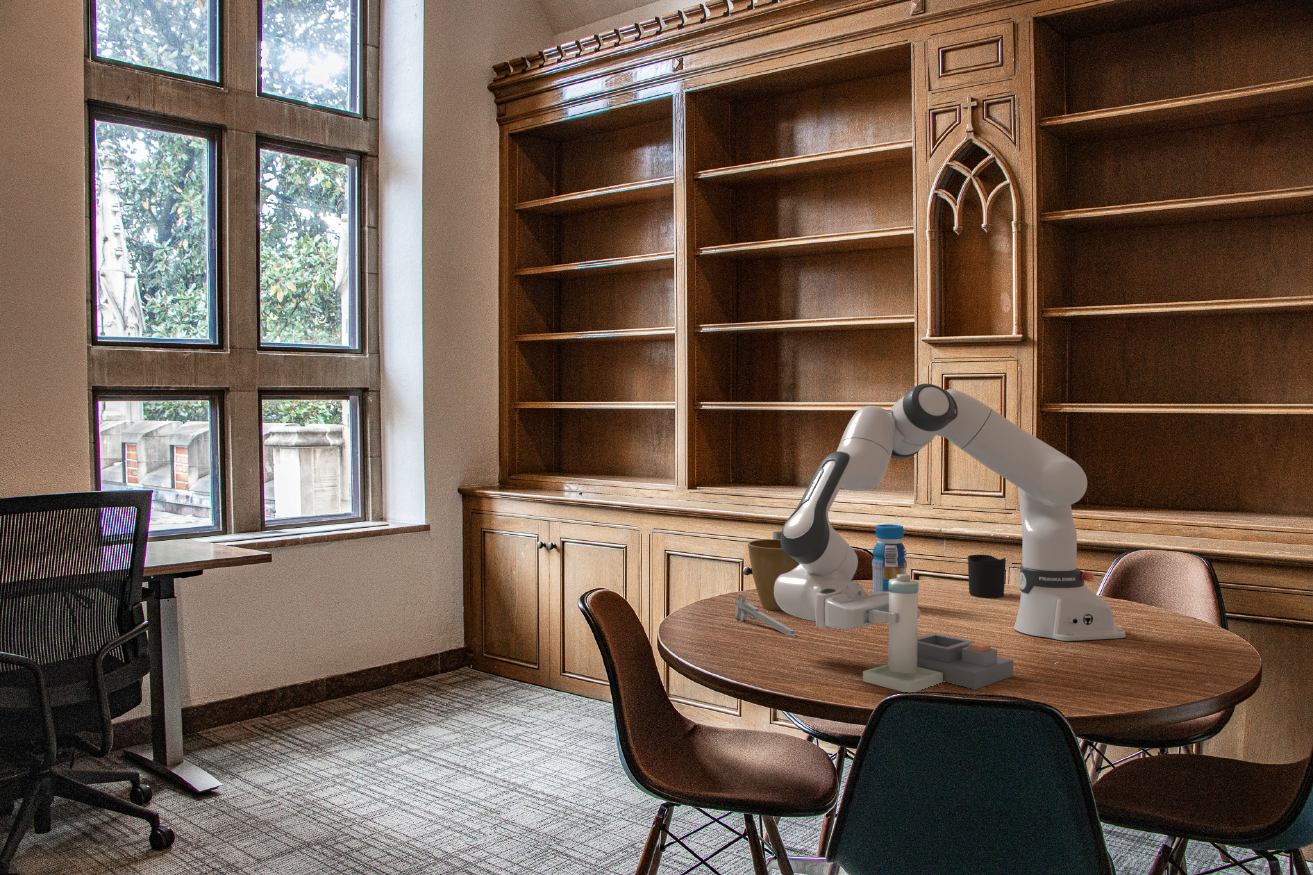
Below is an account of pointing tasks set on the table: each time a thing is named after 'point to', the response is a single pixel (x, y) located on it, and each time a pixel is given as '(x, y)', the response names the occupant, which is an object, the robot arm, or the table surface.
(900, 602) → the cartridge
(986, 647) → the plunger
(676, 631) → the table surface
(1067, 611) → the robot arm
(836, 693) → the table surface
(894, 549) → the beverage bottle
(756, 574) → the plant pot
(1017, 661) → the table surface
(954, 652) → the housing
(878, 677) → the tray
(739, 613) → the caliper
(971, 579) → the pen holder
